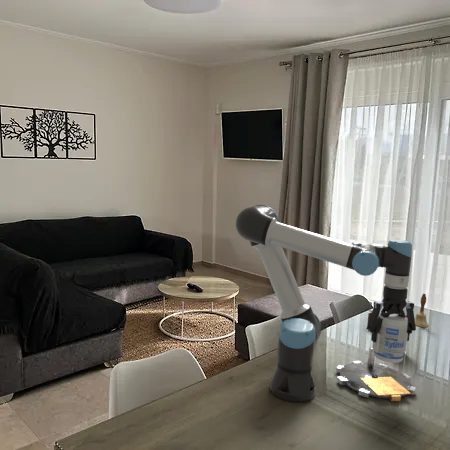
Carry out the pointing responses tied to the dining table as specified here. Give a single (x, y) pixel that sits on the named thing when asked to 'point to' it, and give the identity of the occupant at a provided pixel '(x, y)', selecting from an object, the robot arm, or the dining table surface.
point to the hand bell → (421, 314)
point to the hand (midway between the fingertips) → (388, 350)
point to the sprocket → (375, 379)
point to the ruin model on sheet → (369, 315)
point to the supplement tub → (392, 338)
